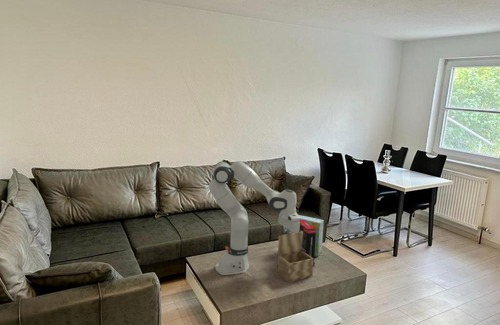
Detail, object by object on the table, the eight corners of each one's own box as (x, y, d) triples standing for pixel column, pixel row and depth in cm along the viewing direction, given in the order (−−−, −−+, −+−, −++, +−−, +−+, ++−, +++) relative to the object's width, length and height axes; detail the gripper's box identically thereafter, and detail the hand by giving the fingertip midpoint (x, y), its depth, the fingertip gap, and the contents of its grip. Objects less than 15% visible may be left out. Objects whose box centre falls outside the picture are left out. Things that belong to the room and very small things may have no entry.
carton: (288, 282, 215) (289, 264, 212) (277, 272, 226) (278, 255, 224) (312, 276, 222) (313, 258, 220) (300, 267, 234) (301, 250, 232)
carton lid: (279, 236, 221) (275, 233, 225) (278, 254, 224) (274, 251, 228) (302, 231, 229) (298, 229, 233) (301, 250, 232) (297, 247, 236)
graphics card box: (314, 266, 235) (317, 228, 230) (305, 267, 233) (307, 229, 228) (303, 255, 251) (305, 219, 246) (294, 256, 249) (296, 220, 244)
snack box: (322, 253, 255) (324, 219, 250) (317, 257, 248) (320, 223, 243) (295, 245, 266) (296, 213, 261) (290, 250, 259) (291, 216, 254)
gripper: (276, 209, 234) (275, 229, 237) (293, 220, 216) (292, 241, 219) (284, 208, 237) (283, 228, 239) (301, 218, 219) (300, 239, 221)
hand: (287, 234), depth 229 cm, fingers open, 3 cm apart
